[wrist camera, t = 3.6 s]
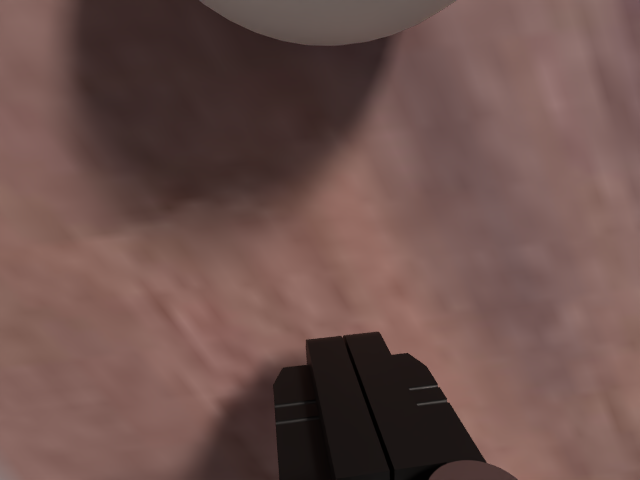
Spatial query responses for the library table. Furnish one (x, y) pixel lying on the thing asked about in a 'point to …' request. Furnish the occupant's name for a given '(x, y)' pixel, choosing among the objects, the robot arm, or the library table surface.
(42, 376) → the library table surface
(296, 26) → the cue ball
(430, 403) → the robot arm
